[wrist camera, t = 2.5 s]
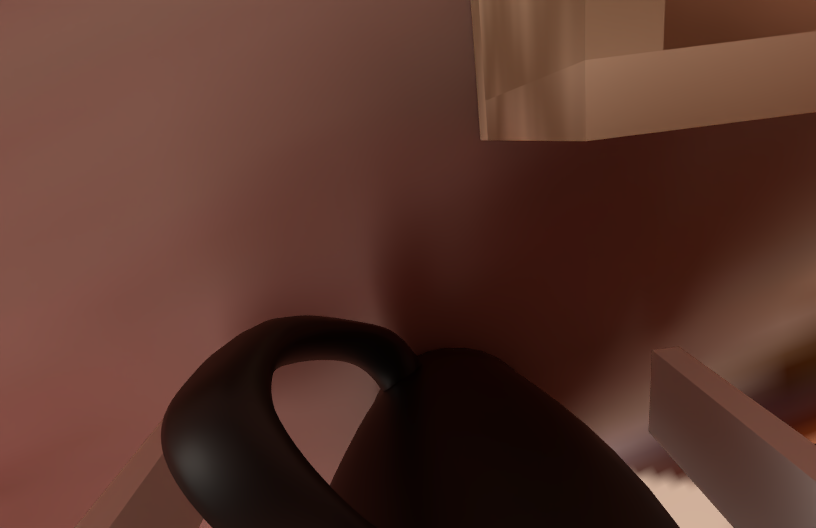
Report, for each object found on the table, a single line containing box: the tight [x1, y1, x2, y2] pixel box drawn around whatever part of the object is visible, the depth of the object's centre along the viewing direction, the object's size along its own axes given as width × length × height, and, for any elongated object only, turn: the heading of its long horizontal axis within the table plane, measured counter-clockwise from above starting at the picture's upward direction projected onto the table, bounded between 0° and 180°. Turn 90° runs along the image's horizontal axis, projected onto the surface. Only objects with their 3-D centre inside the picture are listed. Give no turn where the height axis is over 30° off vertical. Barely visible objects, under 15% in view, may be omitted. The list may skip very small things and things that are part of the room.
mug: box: [161, 316, 680, 528], centre depth 10 cm, size 8×12×10 cm
